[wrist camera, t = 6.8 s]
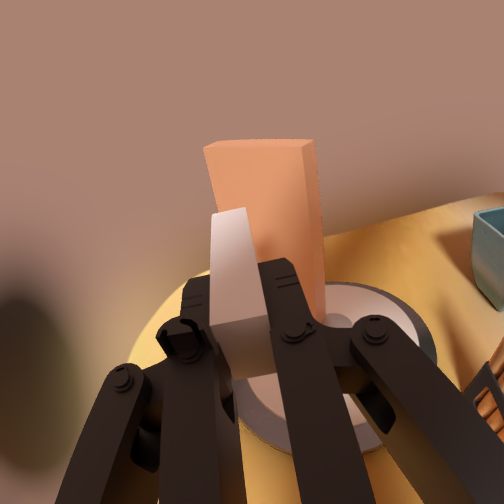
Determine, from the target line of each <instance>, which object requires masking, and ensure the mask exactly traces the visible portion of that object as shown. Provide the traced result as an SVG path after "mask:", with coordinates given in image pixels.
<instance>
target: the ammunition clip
mask: <svg viewBox="0 0 504 504" xmlns="http://www.w3.org/2000/svg"><path fill="white" fill-rule="evenodd" d="M462 394H463V395H464V397H465V398H466V399H467V400H468V401H469V402H470V403H471V405H472V406H473V407H474V408H475V409H476V410H477V411H478V413H479V414H480V415H481V416H482V417H483V419H484V420H485V421H486V422H487V423H488V424H489V426H490V427H491V428H492V429H493V430H494V432H495V433H496V434H497V435H498V437H499V438H500V439H501V440H502V441H503V443H504V337H503V339H502V341H501V342H500V344H499V346H498V348H497V349H496V351H495V353H494V354H493V356H492V357H491V359H490V361H487V362H485V364H484V365H483V367H482V368H481V370H480V371H479V372H478V374H477V375H476V376H475V378H474V379H473V380H472V382H471V383H470V384H469V386H468V387H467V388H466V389H465V391H464V392H463V393H462Z"/></svg>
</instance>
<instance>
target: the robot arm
mask: <svg viewBox="0 0 504 504" xmlns="http://www.w3.org/2000/svg"><path fill="white" fill-rule="evenodd" d="M210 258H211V259H210V275H205V276H200V277H195V278H191V279H189V280H188V282H187V283H186V285H185V287H184V288H183V293H182V301H181V310H180V316H178V317H175V318H172V319H170V320H169V321H167V322H165V323H164V324H163V325H162V326H161V327H160V329H159V330H158V332H157V334H156V337H155V338H156V339H157V341H158V343H159V344H160V346H161V347H162V349H163V351H164V352H165V354H166V355H167V358H166V359H165V360H163V361H161V362H160V363H158V364H155V365H153V366H150V367H148V368H146V369H143V370H141V368H140V367H139V366H138V365H135V364H132V363H126V364H122V365H119V366H117V367H115V368H114V369H113V370H112V371H110V373H109V374H108V375H107V377H106V379H105V381H104V383H103V385H102V387H101V390H100V391H99V394H98V396H97V398H96V400H95V403H94V405H93V407H92V409H91V412H90V414H89V416H88V418H87V421H86V423H85V425H84V428H83V430H82V433H81V435H80V437H79V440H78V442H77V445H76V448H75V450H74V452H73V455H72V457H71V460H70V463H69V465H68V468H67V471H66V473H65V476H64V479H63V481H62V484H61V487H60V490H59V493H58V496H57V499H56V502H55V504H157V502H158V499H159V504H247V497H246V488H245V480H244V471H243V462H242V452H241V443H240V433H239V422H238V412H237V401H236V394H235V391H234V389H233V387H232V380H231V375H232V377H233V379H234V381H236V380H242V379H247V378H253V377H258V376H263V375H268V374H273V373H277V376H278V381H279V386H280V392H281V397H282V402H283V407H284V413H285V418H286V423H287V428H288V434H289V439H290V444H291V449H292V455H293V460H294V465H295V471H296V476H297V481H298V486H299V492H300V497H301V502H302V504H376V501H375V498H374V494H373V491H372V487H371V484H370V480H369V477H368V473H367V470H366V466H365V463H364V460H363V456H362V453H361V450H360V447H359V443H358V440H357V437H356V434H355V430H354V427H353V424H352V421H351V418H350V415H349V412H348V408H347V405H346V402H345V399H344V396H343V394H349V396H350V397H351V398H352V400H353V401H354V403H355V404H356V406H357V407H358V409H359V410H360V411H361V413H362V414H363V416H364V417H365V419H366V420H367V422H368V423H369V424H370V426H371V427H372V429H373V430H374V432H375V433H376V435H377V436H378V437H379V439H380V440H381V442H382V443H383V445H384V446H385V448H386V449H387V450H388V452H389V453H390V455H391V456H392V458H393V459H394V461H395V462H396V463H397V465H398V466H399V468H400V469H401V471H402V472H403V474H404V475H405V476H406V478H407V479H408V481H409V482H410V484H411V485H412V487H413V488H414V489H415V491H416V492H417V494H418V495H419V497H420V498H421V500H422V501H423V502H424V504H504V443H503V441H502V440H501V439H500V438H499V437H498V435H497V434H496V433H495V432H494V430H493V429H492V428H491V427H490V426H489V424H488V423H487V422H486V421H485V420H484V419H483V417H482V416H481V415H480V414H479V413H478V411H477V410H476V409H475V408H474V407H473V406H472V405H471V403H470V402H469V401H468V400H467V399H466V398H465V397H464V395H463V394H462V393H461V392H460V391H459V390H458V389H457V388H456V386H455V385H454V384H453V383H452V382H451V381H450V380H449V379H448V378H447V376H446V375H445V374H444V373H443V372H442V371H441V370H440V369H439V368H438V367H437V366H436V364H435V363H434V362H433V361H432V360H431V359H430V358H429V357H428V356H427V355H426V354H425V353H424V352H423V351H422V350H421V348H420V347H419V346H418V345H417V344H416V343H415V342H414V341H413V340H412V339H411V338H410V337H409V336H408V335H407V334H406V333H405V332H404V331H403V330H402V329H401V328H400V327H399V326H398V325H397V324H396V323H395V322H394V321H393V320H391V319H390V318H389V317H386V316H382V315H367V316H364V317H361V318H360V319H359V320H357V321H356V322H355V323H354V325H353V327H352V328H335V327H329V326H325V325H323V324H321V323H319V322H318V321H317V320H316V319H315V318H314V317H313V316H312V314H311V312H310V309H309V306H308V303H307V300H306V298H305V295H304V292H303V289H302V287H301V284H300V281H299V278H298V276H297V273H296V270H295V268H294V265H293V264H292V263H291V262H290V261H289V260H287V259H286V258H285V257H283V258H279V259H274V260H270V261H265V262H261V263H258V261H257V256H256V251H255V247H254V243H253V238H252V234H251V229H250V225H249V220H248V216H247V211H246V207H242V208H238V209H233V210H229V211H224V212H220V213H216V214H212V226H211V257H210Z"/></svg>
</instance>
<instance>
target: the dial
mask: <svg viewBox="0 0 504 504" xmlns="http://www.w3.org/2000/svg"><path fill="white" fill-rule="evenodd" d="M203 150H204V154H205V158H206V162H207V166H208V170H209V174H210V179H211V183H212V186H213V190H214V195H215V199H216V203H217V207H218V211H219V213H220V212H224V211H229V210H233V209H238V208H242V207H246V211H247V216H248V220H249V225H250V229H251V234H252V238H253V243H254V247H255V251H256V256H257V261H258V263H261V262H265V261H270V260H274V259H279V258H283V257H285V258H286V259H287V260H289V261H290V262H291V263H292V264H293V265H294V268H295V270H296V273H297V276H298V278H299V281H300V284H301V287H302V289H303V292H304V295H305V298H306V300H307V303H308V306H309V309H310V312H311V314H312V316H313V317H314V318H315V319H316V320H317V321H318V322H319V323H321V324H323V325H325V326H329V327H335V328H352V327H353V325H354V323H355V322H356V321H357V320H359V319H360V318H361V317H364V316H367V315H382V316H386V317H389V318H390V319H391V320H393V321H394V322H395V323H396V324H397V325H398V326H399V327H400V328H401V329H402V330H403V331H404V332H405V333H406V334H407V335H408V336H409V337H410V338H411V339H412V340H413V341H414V342H415V343H416V344H417V345H418V346H419V341H418V337H417V333H416V330H415V328H414V326H413V324H412V322H411V321H410V319H409V317H408V316H407V315H406V314H405V312H404V311H403V310H402V309H401V308H400V307H399V306H397V305H396V304H395V303H394V302H392V301H391V300H390V299H388V298H386V297H384V296H383V295H381V294H378V293H376V292H374V291H371V290H368V289H365V288H360V287H356V286H348V285H325V269H324V248H323V231H322V216H321V203H320V192H319V181H318V170H317V161H316V152H315V143H314V140H303V139H254V140H227V141H217V142H215V143H213V144H210V145H208V146H206V147H204V148H203ZM247 379H248V382H249V384H250V387H251V389H252V391H253V392H254V394H255V395H256V397H257V398H258V400H259V401H260V402H261V403H262V404H263V405H264V406H265V407H266V408H267V409H268V410H269V411H271V412H272V413H273V414H274V415H276V416H278V417H279V418H281V419H283V420H285V421H286V418H285V413H284V407H283V402H282V397H281V392H280V386H279V381H278V376H277V373H273V374H268V375H263V376H258V377H253V378H247ZM343 396H344V399H345V402H346V405H347V408H348V412H349V415H350V418H351V421H352V424H353V427H356V426H360V425H363V424H365V423H368V422H367V420H366V419H365V417H364V416H363V414H362V413H361V411H360V410H359V409H358V407H357V406H356V404H355V403H354V401H353V400H352V398H351V397H350V396H349V394H343Z"/></svg>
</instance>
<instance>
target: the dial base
mask: <svg viewBox="0 0 504 504" xmlns="http://www.w3.org/2000/svg"><path fill="white" fill-rule="evenodd" d="M325 285H348V286H356V287H360V288H365V289H368V290H371V291H374V292H376V293H378V294H381V295H383V296H384V297H386V298H388V299H390V300H391V301H392V302H394V303H395V304H396V305H397V306H399V307H400V308H401V309H402V310H403V311H404V312H405V314H406V315H407V316H408V317H409V319H410V321H411V322H412V324H413V326H414V328H415V330H416V333H417V337H418V341H419V347H420V348H421V350H422V351H423V352H424V353H425V354H426V355H427V356H428V357H429V358H430V359H431V360H432V361H433V362H434V363H435V364H436V366H437V354H436V348H435V344H434V341H433V338H432V335H431V333H430V331H429V329H428V327H427V326H426V324H425V323H424V321H423V320H422V319H421V317H420V316H419V315H418V314H417V313H416V312H415V311H414V310H413V309H412V308H411V307H410V306H409V305H407V304H406V303H405V302H403V301H402V300H400V299H399V298H397V297H396V296H394V295H392V294H390V293H388V292H385V291H383V290H380V289H378V288H375V287H371V286H367V285H363V284H357V283H349V282H325ZM231 380H232V387H233V389H234V391H235V394H236V401H237V412H238V417H239V418H240V420H241V421H242V423H243V424H244V425H245V426H246V427H247V428H248V429H249V430H250V432H251V433H252V434H254V435H255V436H256V437H257V438H259V439H260V440H261V441H263V442H264V443H266V444H267V445H269V446H271V447H273V448H275V449H276V450H279V451H281V452H284V453H286V454H289V455H292V449H291V444H290V439H289V434H288V428H287V423H286V421H285V420H283V419H281V418H279V417H278V416H276V415H274V414H273V413H272V412H271V411H269V410H268V409H267V408H266V407H265V406H264V405H263V404H262V403H261V402H260V401H259V400H258V398H257V397H256V395H255V394H254V392H253V391H252V389H251V387H250V384H249V382H248V379H242V380H236V381H234V379H233V377H232V375H231ZM354 430H355V434H356V437H357V440H358V443H359V447H360V450H361V453H362V455H363V454H366V453H369V452H372V451H374V450H376V449H378V448H380V447H382V446H384V445H383V443H382V442H381V440H380V439H379V437H378V436H377V435H376V433H375V432H374V430H373V429H372V427H371V426H370V424H369V423H365V424H363V425H360V426H356V427H354ZM292 456H293V455H292Z"/></svg>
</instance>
